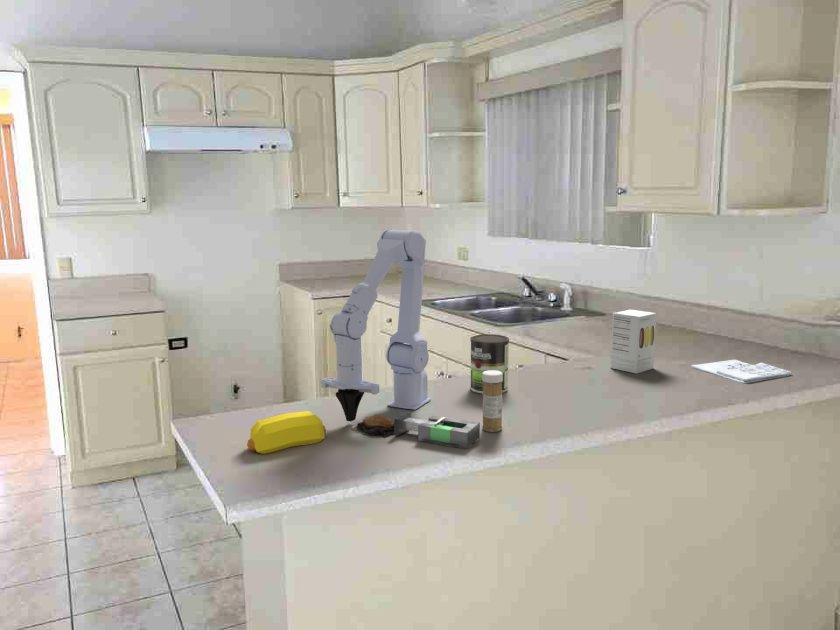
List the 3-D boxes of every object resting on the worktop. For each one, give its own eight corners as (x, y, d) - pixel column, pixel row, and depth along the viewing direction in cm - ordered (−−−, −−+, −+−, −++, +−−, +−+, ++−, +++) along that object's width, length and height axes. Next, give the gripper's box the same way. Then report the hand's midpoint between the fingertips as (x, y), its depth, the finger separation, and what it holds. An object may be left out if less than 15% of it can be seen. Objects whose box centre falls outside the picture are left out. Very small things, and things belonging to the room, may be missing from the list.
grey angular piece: (406, 426, 167) (406, 410, 167) (447, 432, 163) (447, 416, 162) (394, 434, 162) (393, 418, 161) (435, 441, 158) (435, 425, 157)
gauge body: (432, 430, 165) (432, 415, 165) (479, 438, 160) (479, 422, 160) (418, 441, 159) (418, 425, 158) (467, 449, 154) (467, 432, 153)
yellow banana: (333, 442, 160) (318, 432, 166) (332, 413, 158) (317, 404, 165) (253, 459, 150) (241, 448, 157) (251, 428, 149) (239, 418, 156)
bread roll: (348, 432, 167) (347, 417, 166) (373, 422, 173) (373, 407, 173) (382, 442, 160) (382, 426, 160) (407, 431, 167) (407, 416, 166)
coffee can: (493, 397, 190) (493, 344, 188) (462, 389, 197) (462, 338, 195) (516, 388, 198) (516, 337, 195) (486, 381, 205) (486, 332, 202)
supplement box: (636, 374, 210) (639, 316, 207) (609, 368, 217) (611, 312, 214) (654, 368, 216) (657, 312, 213) (627, 362, 223) (629, 308, 220)
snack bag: (743, 386, 199) (744, 378, 199) (688, 369, 217) (689, 362, 217) (793, 377, 207) (793, 370, 206) (736, 361, 225) (736, 354, 225)
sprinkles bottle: (490, 424, 169) (490, 368, 166) (506, 429, 166) (506, 371, 163) (478, 429, 166) (478, 372, 163) (494, 434, 163) (494, 376, 160)
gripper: (313, 364, 167) (315, 421, 170) (368, 370, 161) (369, 429, 164) (329, 357, 174) (331, 412, 176) (383, 363, 167) (384, 420, 170)
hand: (351, 420), depth 170 cm, fingers closed
